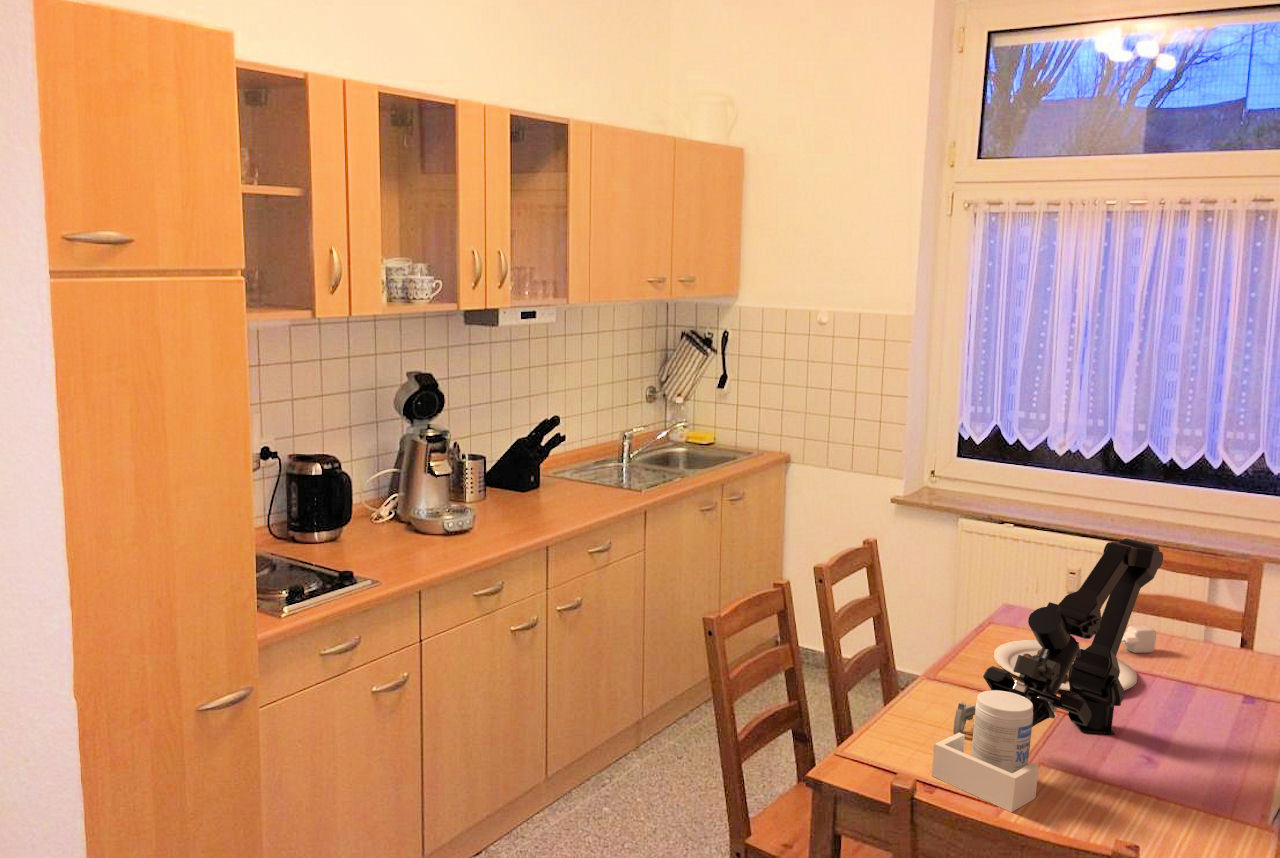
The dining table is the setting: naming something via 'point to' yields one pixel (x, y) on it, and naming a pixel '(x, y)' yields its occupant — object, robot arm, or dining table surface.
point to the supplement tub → (1002, 729)
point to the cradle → (983, 775)
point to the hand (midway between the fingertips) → (1015, 734)
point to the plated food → (1029, 648)
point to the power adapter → (1139, 639)
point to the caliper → (963, 716)
